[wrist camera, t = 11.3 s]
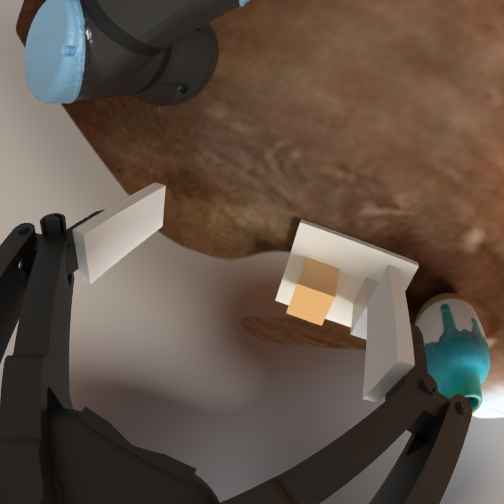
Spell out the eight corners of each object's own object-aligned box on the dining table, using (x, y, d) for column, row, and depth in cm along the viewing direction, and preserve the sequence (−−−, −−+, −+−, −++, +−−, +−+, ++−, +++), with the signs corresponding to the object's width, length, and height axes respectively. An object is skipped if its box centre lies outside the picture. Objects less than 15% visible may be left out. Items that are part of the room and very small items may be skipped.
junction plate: (277, 296, 48) (262, 328, 41) (301, 219, 41) (288, 243, 34) (377, 331, 45) (377, 367, 38) (417, 262, 37) (427, 294, 31)
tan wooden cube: (297, 284, 44) (286, 313, 38) (306, 257, 42) (297, 283, 36) (327, 295, 43) (321, 325, 38) (339, 268, 41) (335, 297, 35)
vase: (406, 335, 43) (410, 433, 27) (414, 281, 39) (432, 383, 23) (461, 333, 39) (482, 426, 23) (475, 280, 35) (515, 373, 19)
